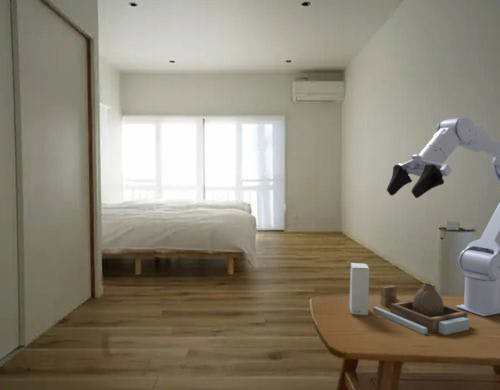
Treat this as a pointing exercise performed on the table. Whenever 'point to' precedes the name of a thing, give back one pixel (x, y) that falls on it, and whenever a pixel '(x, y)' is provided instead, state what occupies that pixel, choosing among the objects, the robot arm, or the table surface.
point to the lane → (444, 327)
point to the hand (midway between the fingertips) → (401, 193)
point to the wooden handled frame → (407, 312)
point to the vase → (428, 301)
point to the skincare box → (359, 289)
